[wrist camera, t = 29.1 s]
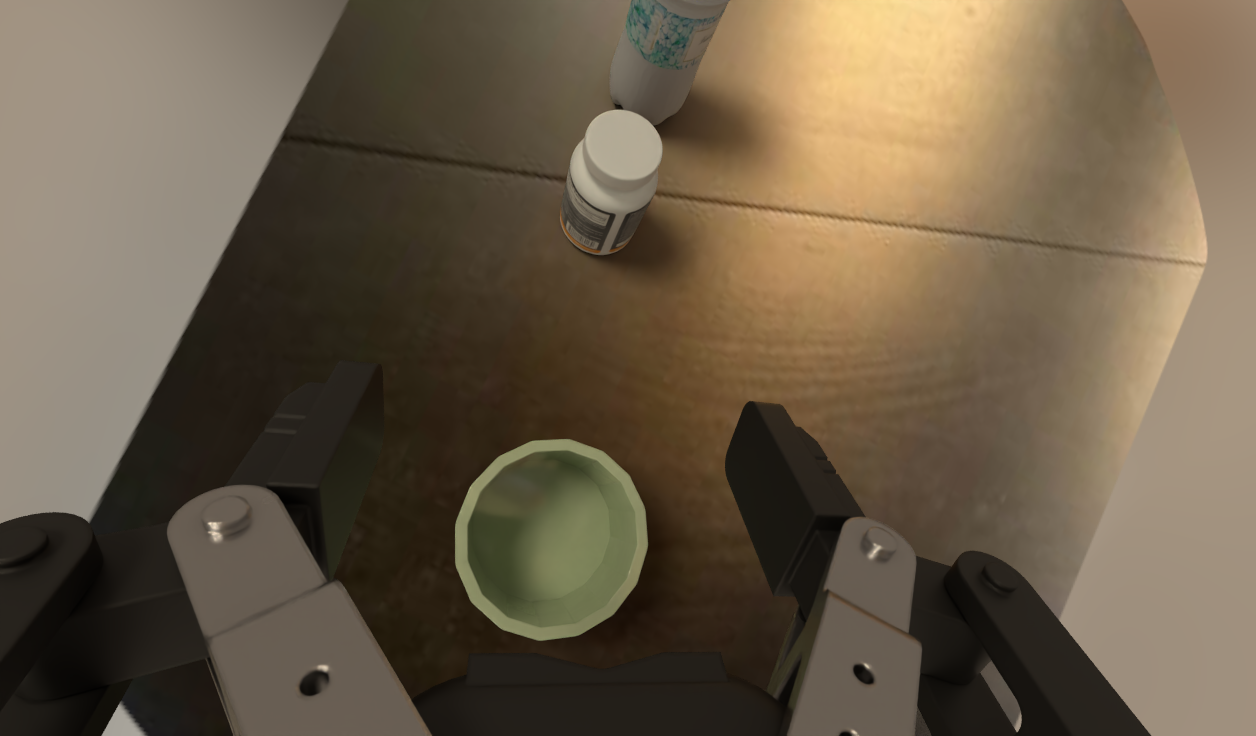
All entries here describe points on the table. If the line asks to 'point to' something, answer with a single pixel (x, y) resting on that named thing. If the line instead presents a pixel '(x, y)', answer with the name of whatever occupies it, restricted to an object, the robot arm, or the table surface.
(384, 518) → the table surface
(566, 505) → the green cup
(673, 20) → the bottle
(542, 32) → the table surface
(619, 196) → the pill bottle
